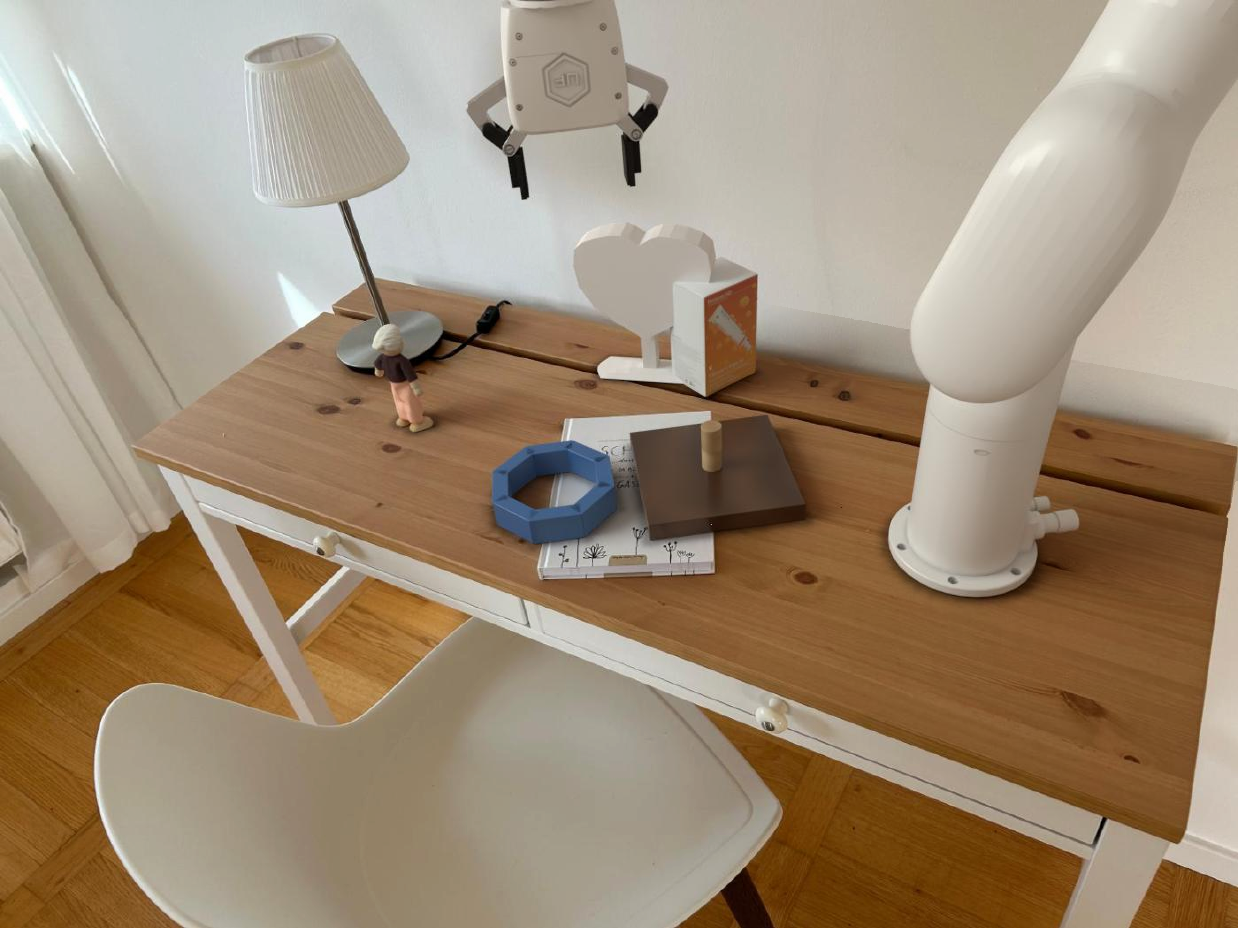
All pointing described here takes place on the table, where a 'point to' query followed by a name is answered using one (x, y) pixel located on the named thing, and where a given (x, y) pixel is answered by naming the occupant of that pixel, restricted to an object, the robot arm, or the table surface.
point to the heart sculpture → (640, 286)
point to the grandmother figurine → (400, 378)
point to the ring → (555, 519)
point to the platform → (714, 477)
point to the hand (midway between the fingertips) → (577, 187)
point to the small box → (715, 328)
